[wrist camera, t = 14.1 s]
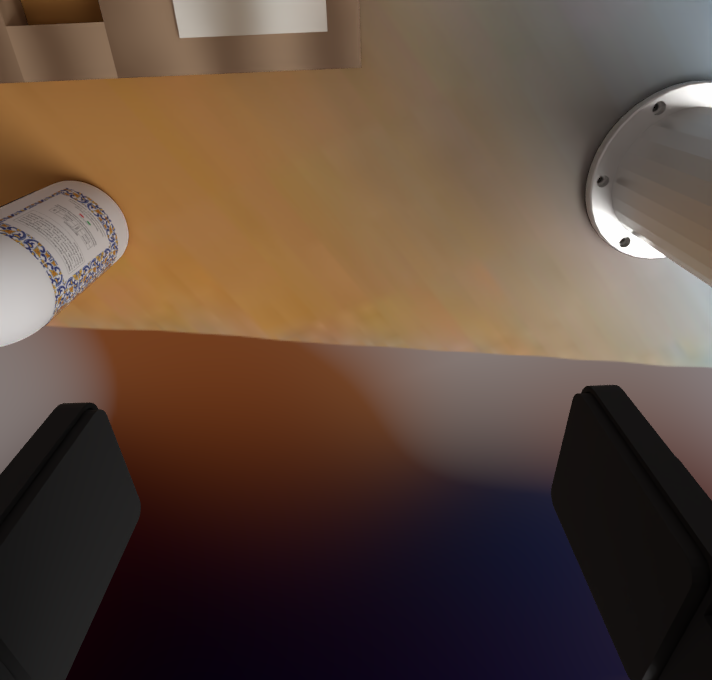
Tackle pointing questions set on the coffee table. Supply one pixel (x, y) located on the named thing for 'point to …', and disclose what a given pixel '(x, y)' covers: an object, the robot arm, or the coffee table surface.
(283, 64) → the walnut frame
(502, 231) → the coffee table surface
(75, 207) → the bath foam
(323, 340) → the coffee table surface
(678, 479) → the robot arm
